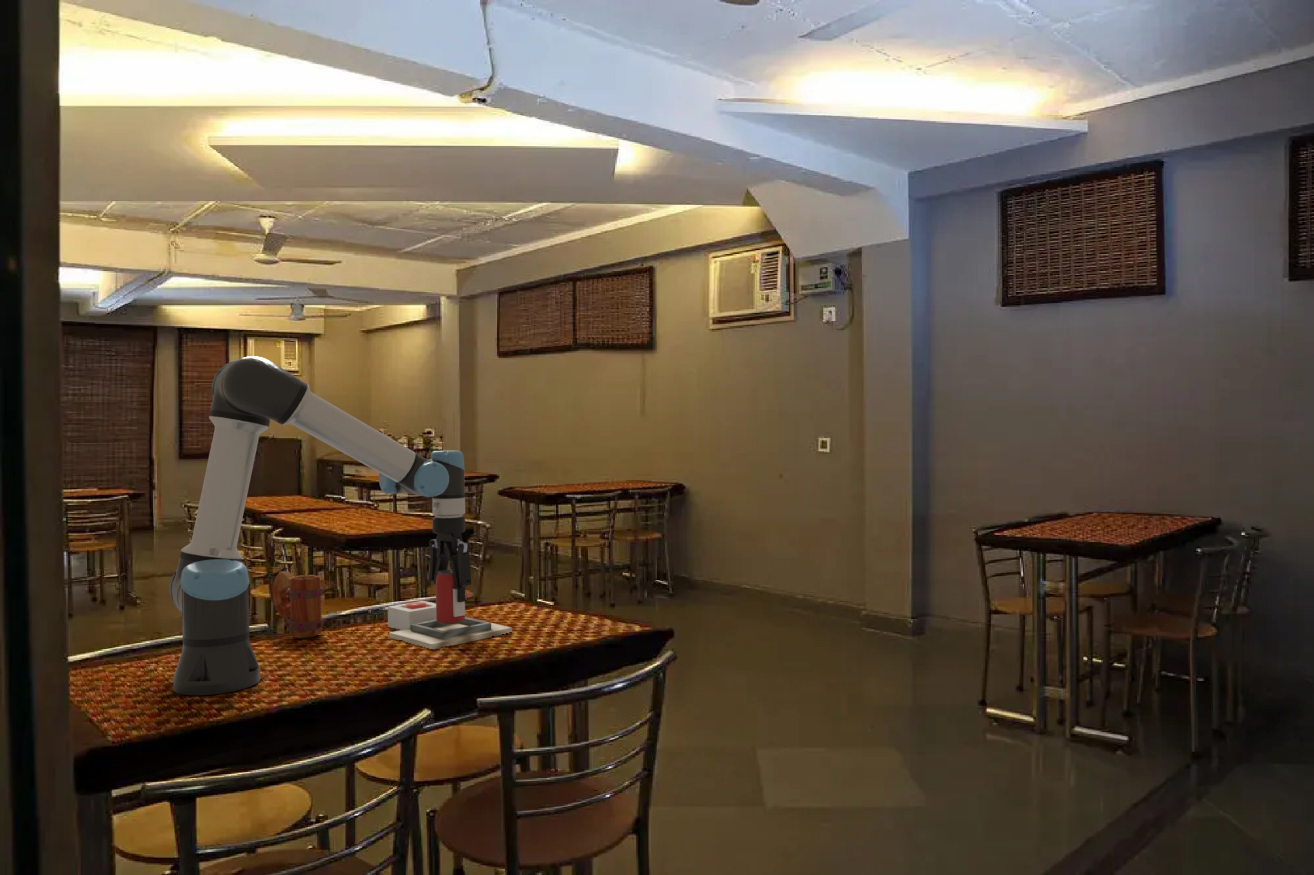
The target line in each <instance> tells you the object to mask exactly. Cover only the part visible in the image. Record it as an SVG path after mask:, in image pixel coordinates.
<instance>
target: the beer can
mask: <svg viewBox="0 0 1314 875" xmlns="http://www.w3.org/2000/svg"><path fill="white" fill-rule="evenodd" d="M454 586H455V583H454V578H453V573H452V569H451V568H450V569H449V568H448V569H447V570H441V571H438V575H437V578H436V596H435V603H436V620H437V622H438V623H440V624H457V623H461V622H463V621H464V620H465V617H466V614H465V615H463V616H457V617H454V616H453V587H454Z"/></svg>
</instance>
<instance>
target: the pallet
mask: <svg viewBox="0 0 1314 875" xmlns="http://www.w3.org/2000/svg"><path fill="white" fill-rule="evenodd" d="M509 632H512V633H513V627H510V626H506V625H502V624H497V623H493V622H491V621H484V620H481V619H476V618H471V617H466V616H465V620H464V621H463V622H461V623H457V624H440V623H438V622H437V620H432V621H427V622H421V623H416V624H411V629H405V630H395V631H391V632H389V633H388V634H389V635H388V637H390V638H389V639H392V638H393V639H392V640H396V641H399V640H403V641H405V642H404V643H406V642H408V643H407V644H410V643H411V645H413V644H415V645H414V646H417V645H420V646H422V647H421V648H424V647H425V648H424V649H427V648H429V650H431V649H433V650H436V649H440V648H441V647H442V648H446V647H445V646H447V647H450V645H451V646H456V645H460V644H465V643H470V642H475V641H478V640H479V641H480V640H484V639H488V638H493V637H492V636H494V637H498V636H503V635H502V634H504V635H507V634H506V633H508V634H510V633H509ZM403 641H402V642H403ZM420 646H419V647H420ZM442 648H441V649H442Z"/></svg>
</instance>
